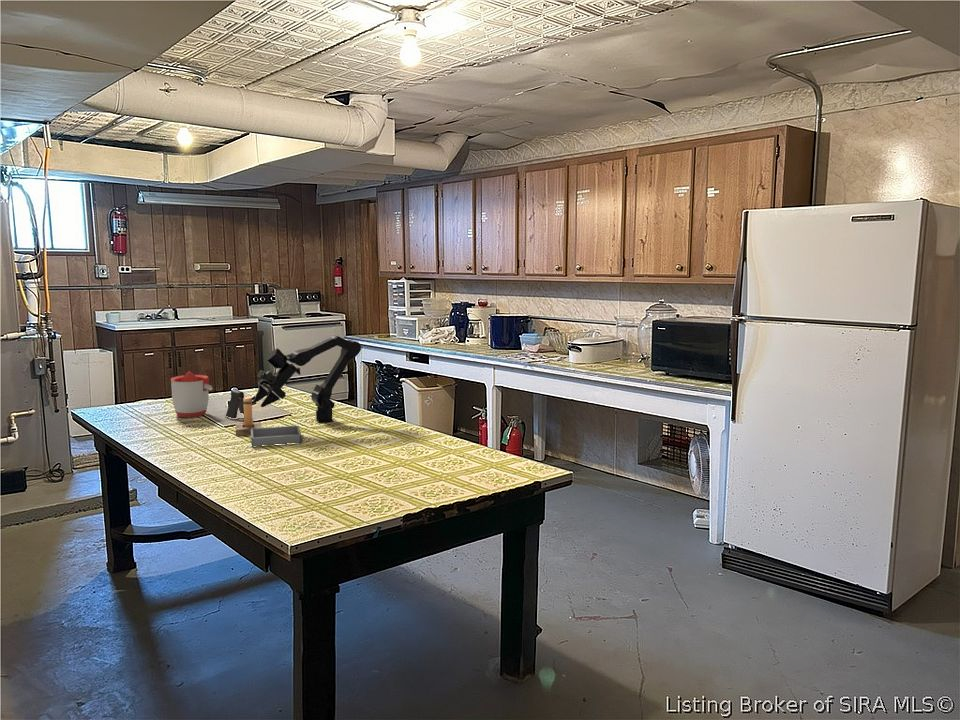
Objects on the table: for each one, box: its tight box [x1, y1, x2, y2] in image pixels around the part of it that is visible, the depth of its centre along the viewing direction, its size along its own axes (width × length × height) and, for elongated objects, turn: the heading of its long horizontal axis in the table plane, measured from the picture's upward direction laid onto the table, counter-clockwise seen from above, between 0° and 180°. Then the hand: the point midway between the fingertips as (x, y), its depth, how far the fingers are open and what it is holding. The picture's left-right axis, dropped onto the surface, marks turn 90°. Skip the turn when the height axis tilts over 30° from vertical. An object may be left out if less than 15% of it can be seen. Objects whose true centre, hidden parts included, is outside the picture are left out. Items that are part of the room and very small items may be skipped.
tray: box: [250, 425, 303, 448], centre depth 272 cm, size 19×15×4 cm
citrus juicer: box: [170, 371, 214, 418], centre depth 308 cm, size 16×17×20 cm
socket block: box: [235, 421, 263, 437], centre depth 284 cm, size 10×10×2 cm
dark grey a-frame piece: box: [225, 389, 245, 418], centre depth 306 cm, size 9×6×12 cm, turn 138°
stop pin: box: [243, 397, 253, 427], centre depth 283 cm, size 3×3×14 cm
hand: (257, 404), depth 285 cm, fingers open, 9 cm apart
